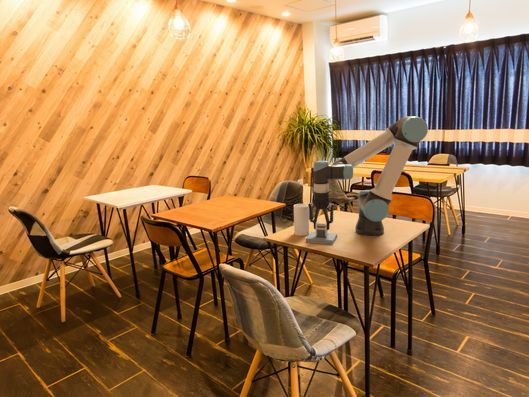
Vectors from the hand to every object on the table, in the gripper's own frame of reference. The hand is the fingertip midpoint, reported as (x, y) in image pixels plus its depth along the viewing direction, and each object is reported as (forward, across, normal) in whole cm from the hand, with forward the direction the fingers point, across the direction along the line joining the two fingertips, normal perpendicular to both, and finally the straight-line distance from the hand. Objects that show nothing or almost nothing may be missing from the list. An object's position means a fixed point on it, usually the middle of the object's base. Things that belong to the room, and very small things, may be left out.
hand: (321, 235), depth 203 cm
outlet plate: (+2, 0, 0) cm, 2 cm away
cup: (+3, +13, -8) cm, 15 cm away
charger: (+2, 0, 0) cm, 2 cm away
